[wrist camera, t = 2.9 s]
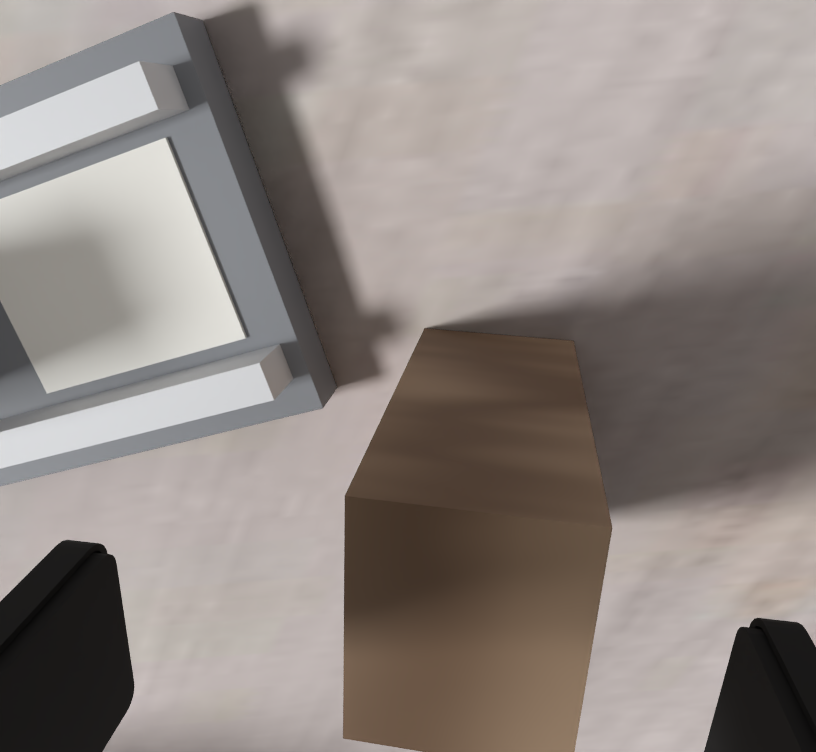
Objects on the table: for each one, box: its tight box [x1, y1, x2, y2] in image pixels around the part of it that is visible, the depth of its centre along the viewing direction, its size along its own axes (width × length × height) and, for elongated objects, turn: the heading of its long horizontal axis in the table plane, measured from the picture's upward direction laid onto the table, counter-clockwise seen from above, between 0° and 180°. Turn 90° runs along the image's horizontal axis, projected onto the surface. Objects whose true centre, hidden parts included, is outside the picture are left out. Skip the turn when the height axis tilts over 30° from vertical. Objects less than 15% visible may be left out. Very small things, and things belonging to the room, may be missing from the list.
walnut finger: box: [343, 328, 612, 752], centre depth 16 cm, size 4×6×9 cm
